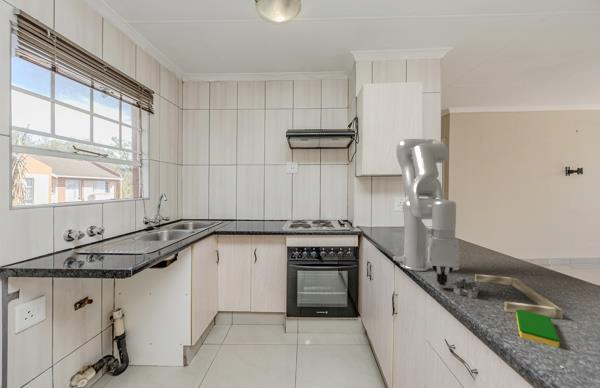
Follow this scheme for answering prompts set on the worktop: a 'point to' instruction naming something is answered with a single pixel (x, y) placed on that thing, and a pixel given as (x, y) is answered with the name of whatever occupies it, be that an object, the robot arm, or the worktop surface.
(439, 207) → the robot arm
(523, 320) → the dish sponge
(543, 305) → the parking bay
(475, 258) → the worktop surface
